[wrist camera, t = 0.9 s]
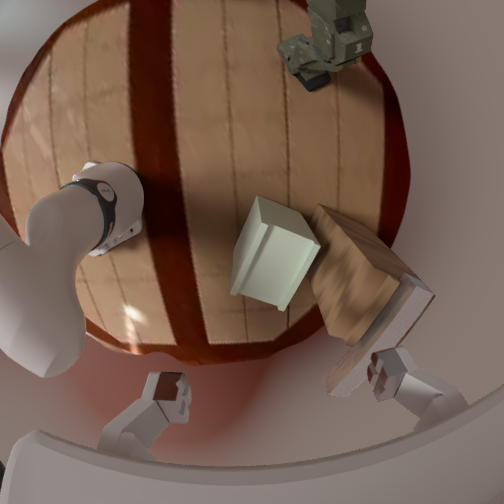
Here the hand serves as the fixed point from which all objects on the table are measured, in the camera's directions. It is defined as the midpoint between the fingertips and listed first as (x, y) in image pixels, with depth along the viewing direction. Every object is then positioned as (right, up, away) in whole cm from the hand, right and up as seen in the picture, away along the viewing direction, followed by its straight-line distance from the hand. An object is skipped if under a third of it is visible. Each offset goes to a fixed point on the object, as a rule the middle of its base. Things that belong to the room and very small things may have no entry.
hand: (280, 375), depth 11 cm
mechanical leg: (+8, +40, +29) cm, 50 cm away
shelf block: (+2, +9, +42) cm, 44 cm away
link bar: (+14, -6, +21) cm, 26 cm away
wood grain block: (+15, +8, +43) cm, 47 cm away
